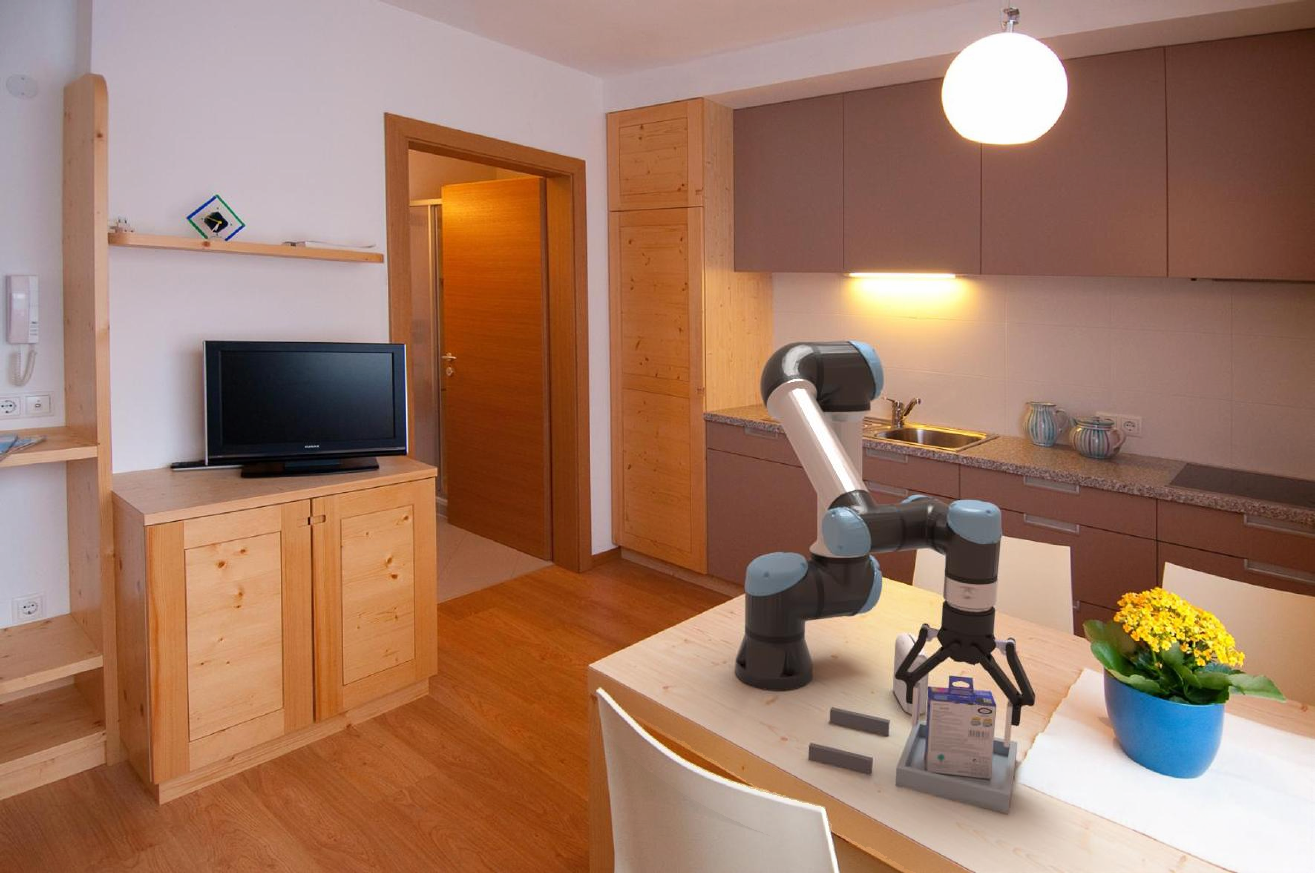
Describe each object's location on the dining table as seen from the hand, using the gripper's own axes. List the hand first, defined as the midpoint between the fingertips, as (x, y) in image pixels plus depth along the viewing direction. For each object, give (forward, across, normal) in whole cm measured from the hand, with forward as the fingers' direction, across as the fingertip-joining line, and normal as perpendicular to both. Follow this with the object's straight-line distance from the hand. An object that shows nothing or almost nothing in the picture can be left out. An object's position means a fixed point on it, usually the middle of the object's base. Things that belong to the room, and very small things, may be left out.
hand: (960, 732), depth 132 cm
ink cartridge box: (+6, 0, 0) cm, 6 cm away
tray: (+7, 0, 0) cm, 7 cm away
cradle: (+7, -17, 0) cm, 18 cm away
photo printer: (+7, -11, +20) cm, 24 cm away
